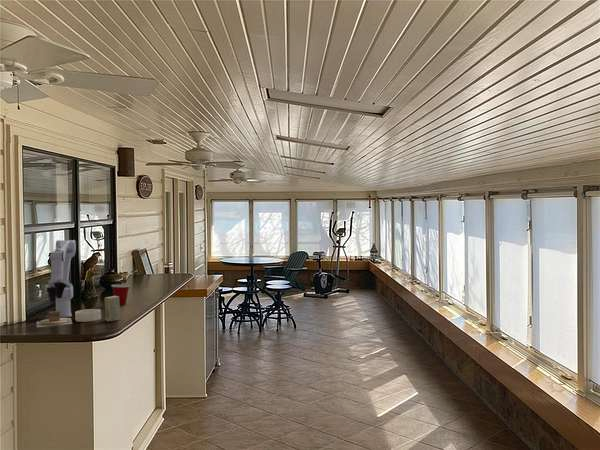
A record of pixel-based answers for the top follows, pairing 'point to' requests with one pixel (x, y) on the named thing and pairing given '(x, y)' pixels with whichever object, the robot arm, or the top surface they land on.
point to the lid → (54, 319)
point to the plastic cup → (121, 292)
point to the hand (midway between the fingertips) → (55, 299)
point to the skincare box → (112, 308)
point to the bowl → (88, 315)
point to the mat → (54, 325)
